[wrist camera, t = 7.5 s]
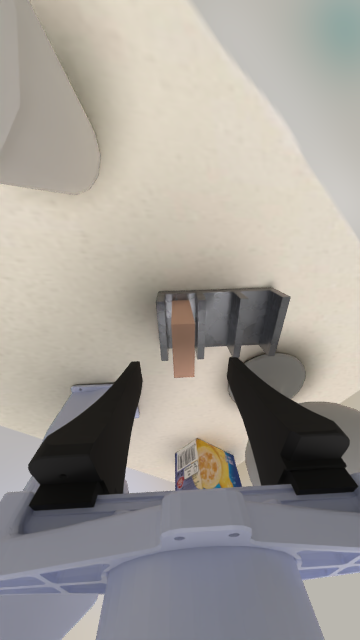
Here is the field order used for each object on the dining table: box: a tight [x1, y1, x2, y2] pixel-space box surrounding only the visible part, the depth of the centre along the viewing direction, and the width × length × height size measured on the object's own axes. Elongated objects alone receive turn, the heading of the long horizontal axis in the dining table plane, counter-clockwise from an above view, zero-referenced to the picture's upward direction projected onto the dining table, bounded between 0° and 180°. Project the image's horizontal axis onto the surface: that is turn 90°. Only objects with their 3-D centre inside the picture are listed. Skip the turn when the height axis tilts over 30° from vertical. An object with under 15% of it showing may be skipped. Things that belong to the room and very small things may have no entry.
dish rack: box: [156, 288, 290, 361], centre depth 20 cm, size 14×8×4 cm, turn 92°
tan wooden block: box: [171, 300, 195, 378], centre depth 18 cm, size 2×6×6 cm, turn 1°
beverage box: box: [175, 438, 242, 491], centre depth 26 cm, size 7×11×22 cm, turn 50°
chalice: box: [228, 353, 360, 486], centre depth 20 cm, size 14×14×15 cm
